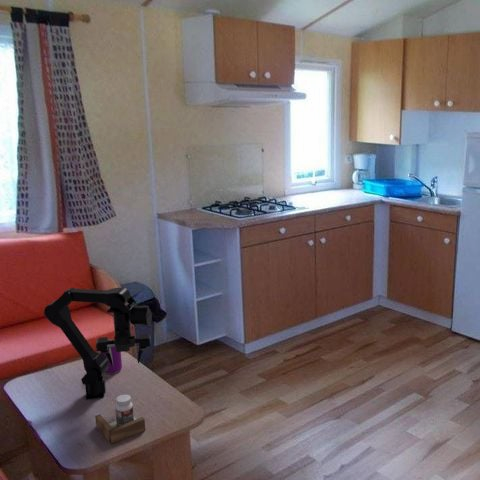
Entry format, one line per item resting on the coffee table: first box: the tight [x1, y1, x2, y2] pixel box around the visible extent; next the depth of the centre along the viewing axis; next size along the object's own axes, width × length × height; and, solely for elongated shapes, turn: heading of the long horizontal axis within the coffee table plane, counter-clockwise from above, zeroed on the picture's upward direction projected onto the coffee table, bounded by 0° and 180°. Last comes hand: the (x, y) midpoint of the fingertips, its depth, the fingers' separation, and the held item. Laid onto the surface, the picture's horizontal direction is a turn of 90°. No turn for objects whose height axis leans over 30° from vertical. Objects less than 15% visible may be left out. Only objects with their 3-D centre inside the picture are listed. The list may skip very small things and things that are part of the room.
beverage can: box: [104, 345, 123, 375], centre depth 210 cm, size 8×8×12 cm
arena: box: [94, 414, 146, 445], centre depth 172 cm, size 12×12×4 cm
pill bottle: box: [114, 394, 135, 427], centre depth 172 cm, size 6×6×10 cm
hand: (125, 363), depth 189 cm, fingers open, 9 cm apart
